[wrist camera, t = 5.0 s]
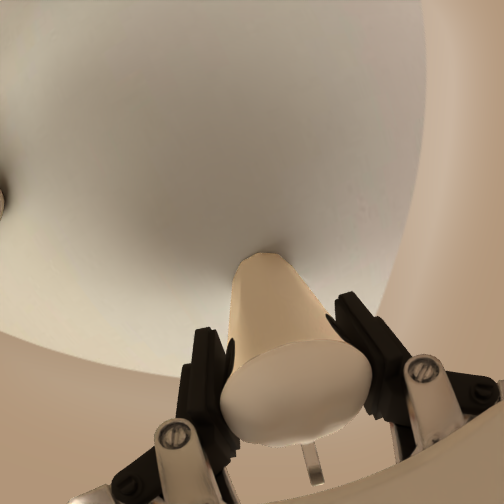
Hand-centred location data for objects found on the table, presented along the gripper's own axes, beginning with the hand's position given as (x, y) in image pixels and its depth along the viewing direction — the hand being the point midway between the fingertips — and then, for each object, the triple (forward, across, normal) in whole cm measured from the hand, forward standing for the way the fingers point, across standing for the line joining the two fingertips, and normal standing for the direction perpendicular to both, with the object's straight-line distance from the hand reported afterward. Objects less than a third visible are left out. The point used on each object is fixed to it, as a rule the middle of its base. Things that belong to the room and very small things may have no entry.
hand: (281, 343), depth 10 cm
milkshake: (+5, 0, 0) cm, 5 cm away
